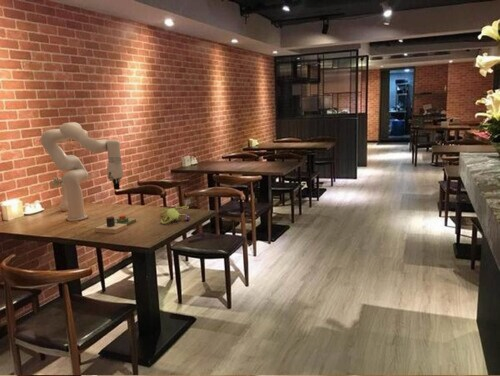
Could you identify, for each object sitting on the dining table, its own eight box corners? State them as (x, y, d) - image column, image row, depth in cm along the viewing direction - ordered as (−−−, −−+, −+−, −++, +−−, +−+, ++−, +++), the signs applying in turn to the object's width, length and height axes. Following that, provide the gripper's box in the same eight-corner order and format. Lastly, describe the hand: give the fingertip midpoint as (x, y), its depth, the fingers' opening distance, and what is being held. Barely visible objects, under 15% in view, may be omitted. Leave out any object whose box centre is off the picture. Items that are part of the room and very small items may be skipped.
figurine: (189, 212, 282) (188, 204, 281) (191, 222, 256) (191, 213, 255) (160, 214, 279) (160, 206, 278) (160, 225, 253) (159, 216, 252)
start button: (118, 219, 258) (118, 216, 258) (121, 217, 261) (121, 214, 261) (123, 219, 257) (123, 216, 257) (126, 217, 260) (126, 215, 260)
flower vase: (62, 207, 310) (58, 173, 306) (82, 208, 304) (78, 174, 299) (48, 211, 298) (43, 176, 294) (69, 213, 292) (64, 177, 287)
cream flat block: (95, 232, 243) (94, 227, 243) (107, 226, 254) (107, 222, 253) (115, 233, 239) (115, 229, 238) (127, 228, 249) (126, 223, 248)
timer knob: (112, 227, 243) (111, 218, 242) (105, 226, 244) (104, 217, 243) (116, 225, 247) (115, 216, 246) (109, 224, 248) (108, 215, 247)
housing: (109, 225, 257) (109, 219, 256) (119, 220, 266) (119, 215, 266) (126, 226, 253) (125, 220, 253) (136, 221, 262) (135, 216, 262)
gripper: (117, 158, 269) (119, 186, 273) (101, 161, 255) (103, 191, 259) (127, 158, 266) (129, 187, 270) (111, 161, 253) (114, 191, 256)
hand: (116, 189), depth 264 cm, fingers closed
